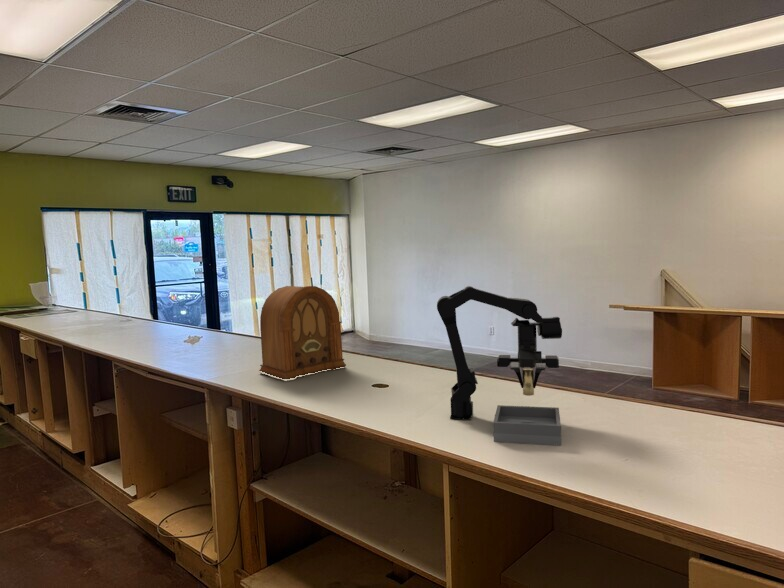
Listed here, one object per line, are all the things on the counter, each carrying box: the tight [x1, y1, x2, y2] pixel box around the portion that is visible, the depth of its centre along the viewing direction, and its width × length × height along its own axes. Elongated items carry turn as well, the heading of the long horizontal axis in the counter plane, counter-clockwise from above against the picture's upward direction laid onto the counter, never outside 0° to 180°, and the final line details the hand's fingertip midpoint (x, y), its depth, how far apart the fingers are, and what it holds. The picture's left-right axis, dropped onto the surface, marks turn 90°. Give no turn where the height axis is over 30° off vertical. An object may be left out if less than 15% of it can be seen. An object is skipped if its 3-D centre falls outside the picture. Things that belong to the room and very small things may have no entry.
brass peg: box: [521, 367, 535, 397], centre depth 165 cm, size 3×3×8 cm
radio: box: [258, 285, 347, 379], centre depth 240 cm, size 33×23×40 cm
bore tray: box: [492, 404, 562, 446], centre depth 150 cm, size 18×16×6 cm
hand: (528, 387), depth 165 cm, fingers closed on brass peg, 3 cm apart
